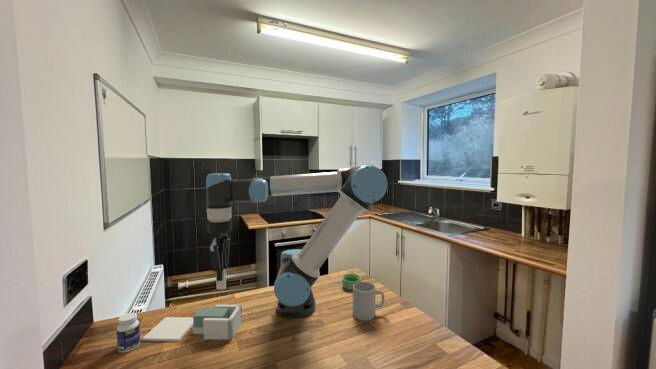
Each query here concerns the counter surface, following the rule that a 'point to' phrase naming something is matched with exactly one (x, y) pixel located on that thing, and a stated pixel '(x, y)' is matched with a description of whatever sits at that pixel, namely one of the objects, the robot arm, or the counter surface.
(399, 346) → the counter surface
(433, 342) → the counter surface
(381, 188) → the robot arm
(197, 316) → the bar
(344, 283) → the ramekin
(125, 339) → the pill bottle
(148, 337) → the plate
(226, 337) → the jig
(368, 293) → the mug
